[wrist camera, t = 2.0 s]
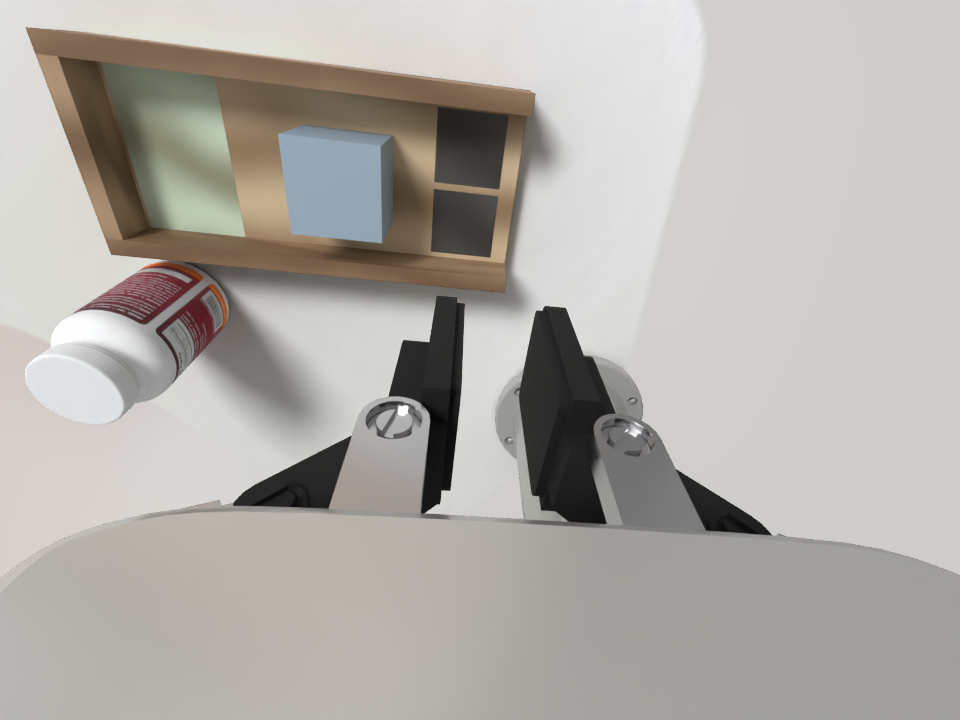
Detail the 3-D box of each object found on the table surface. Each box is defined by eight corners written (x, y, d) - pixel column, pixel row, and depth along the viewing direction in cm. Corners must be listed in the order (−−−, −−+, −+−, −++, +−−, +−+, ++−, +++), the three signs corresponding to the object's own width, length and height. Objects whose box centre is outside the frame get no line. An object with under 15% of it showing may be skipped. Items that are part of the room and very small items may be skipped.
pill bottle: (124, 292, 32) (-17, 384, 22) (170, 239, 29) (35, 318, 20) (202, 348, 34) (104, 451, 25) (250, 304, 32) (161, 399, 23)
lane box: (501, 271, 31) (504, 292, 28) (147, 235, 29) (111, 254, 26) (528, 90, 25) (535, 93, 22) (81, 31, 23) (25, 27, 20)
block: (392, 221, 28) (382, 243, 25) (313, 213, 28) (291, 233, 24) (392, 135, 25) (380, 146, 22) (304, 124, 25) (277, 133, 21)
